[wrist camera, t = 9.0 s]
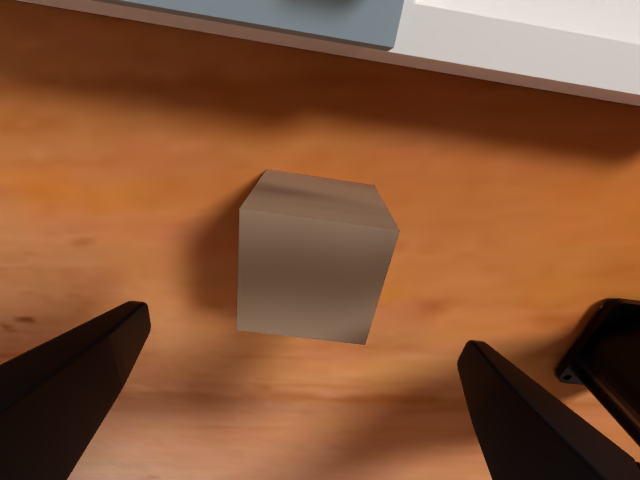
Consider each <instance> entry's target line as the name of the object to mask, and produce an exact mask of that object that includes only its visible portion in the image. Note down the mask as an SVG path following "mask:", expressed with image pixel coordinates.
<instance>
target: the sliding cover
mask: <svg viewBox="0 0 640 480" xmlns="http://www.w3.org/2000/svg"><path fill="white" fill-rule="evenodd" d="M93 1H99V2H104V3H110V4H116V5H122V6H128V7H134V8H139V9H145V10H151V11H157V12H163V13H168V14H174V15H180V16H186V17H192V18H197V19H203V20H209V21H215V22H221V23H226V24H232V25H238V26H244V27H250V28H256V29H261V30H267V31H273V32H279V33H285V34H290V35H296V36H302V37H308V38H314V39H319V40H325V41H331V42H337V43H343V44H348V45H354V46H360V47H366V48H372V49H378V50H383V51H389V50H391V49H393V48H394V45H395V40H396V36H397V31H398V27H399V22H400V18H401V13H402V8H403V4H404V0H93Z"/></svg>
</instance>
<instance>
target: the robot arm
mask: <svg viewBox="0 0 640 480" xmlns="http://www.w3.org/2000/svg"><path fill="white" fill-rule="evenodd" d="M150 329H151V323H150V317H149V310H148V305H147V304H146V303H144V302H138V301H128V302H126V303H124V304H122V305H120V306H118V307H116V308H114V309H112V310H110V311H108V312H106V313H104V314H102V315H100V316H98V317H96V318H94V319H92V320H90V321H88V322H86V323H84V324H82V325H79V326H77V327H75V328H73V329H71V330H69V331H67V332H65V333H63V334H61V335H59V336H57V337H55V338H53V339H51V340H49V341H47V342H45V343H43V344H41V345H39V346H37V347H35V348H33V349H31V350H29V351H27V352H25V353H23V354H21V355H19V356H17V357H15V358H13V359H11V360H9V361H7V362H5V363H3V364H1V365H0V480H67V478H68V477H69V475H70V474H71V472H72V470H73V469H74V467H75V465H76V464H77V462H78V461H79V459H80V457H81V456H82V454H83V452H84V451H85V449H86V448H87V446H88V444H89V443H90V441H91V439H92V438H93V436H94V434H95V433H96V431H97V430H98V428H99V426H100V425H101V423H102V421H103V420H104V418H105V417H106V415H107V413H108V412H109V410H110V408H111V407H112V405H113V403H114V402H115V400H116V399H117V397H118V395H119V393H120V392H121V390H122V388H123V386H124V384H125V383H126V381H127V379H128V377H129V375H130V372H131V370H132V368H133V366H134V364H135V362H136V360H137V358H138V356H139V354H140V352H141V350H142V348H143V346H144V343H145V341H146V339H147V337H148V335H149V333H150ZM457 366H458V371H459V375H460V379H461V383H462V387H463V391H464V394H465V398H466V402H467V406H468V410H469V414H470V417H471V421H472V424H473V427H474V430H475V433H476V436H477V438H478V441H479V444H480V447H481V449H482V452H483V455H484V458H485V461H486V463H487V466H488V469H489V472H490V474H491V477H492V480H640V463H639V462H635V460H634V458H633V457H631V456H630V455H629V454H627V453H626V452H625V451H624V450H622V449H621V448H620V447H618V446H617V445H616V444H615V443H613V442H612V441H611V440H609V439H608V438H607V437H606V436H604V435H603V434H602V433H600V432H599V431H598V430H597V429H595V428H594V427H593V426H592V425H590V424H589V423H588V422H586V421H585V420H584V419H583V418H581V417H580V416H579V415H577V414H576V413H575V412H574V411H572V410H571V409H570V408H568V407H567V406H566V405H565V404H563V403H562V402H561V401H560V400H558V399H557V398H556V397H554V396H553V395H552V394H551V393H549V392H548V391H547V390H545V389H544V388H543V387H542V386H540V385H539V384H538V383H536V382H535V381H534V380H533V379H531V378H530V377H529V376H527V375H526V374H525V373H524V372H522V371H521V370H520V369H519V368H517V367H516V366H515V365H513V364H512V363H511V362H510V361H508V360H507V359H506V358H504V357H503V356H502V355H501V354H499V353H498V352H497V351H495V350H494V349H493V348H492V347H490V346H489V345H488V344H486V343H485V342H482V341H475V340H469V341H468V342H467V343H466V345H465V347H464V349H463V351H462V353H461V355H460V357H459V359H458V363H457ZM555 376H556V377H557V378H558V380H559V381H560V382H563V383H572V384H581V385H585V386H586V387H587V389H588V390H589V391H590V392H591V393H592V394H593V395H594V396H595V398H596V399H597V400H598V401H599V402H600V403H601V404H602V405H603V407H604V408H605V409H606V410H607V411H608V412H609V413H610V414H611V416H612V417H613V418H614V419H615V420H616V421H617V422H618V423H619V424H620V426H621V427H622V428H623V429H624V430H625V431H626V432H627V433H628V435H629V436H630V437H631V438H632V439H633V440H634V441H635V442H636V444H637V445H638V446H639V447H640V301H636V300H628V299H620V298H617V299H612V300H610V301H609V302H607V303H606V304H605V306H604V307H603V308H602V310H601V311H600V312H599V314H598V315H597V316H596V318H595V319H594V320H593V322H592V323H591V324H590V326H589V327H588V328H587V330H586V331H585V332H584V334H583V335H582V336H581V338H580V339H579V340H578V342H577V343H576V344H575V346H574V347H573V348H572V350H571V351H570V352H569V354H568V355H567V356H566V358H565V359H564V360H563V362H562V363H561V364H560V366H559V367H558V368H557V370H556V371H555Z"/></svg>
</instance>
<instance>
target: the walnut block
mask: <svg viewBox="0 0 640 480" xmlns="http://www.w3.org/2000/svg"><path fill="white" fill-rule="evenodd" d="M399 231H400V230H399V229H398V227H397V225H396V223H395V221H394V220H393V218H392V216H391V214H390V212H389V211H388V209H387V207H386V205H385V203H384V202H383V200H382V198H381V196H380V194H379V193H378V191H377V189H376V187H375V185H369V184H362V183H355V182H349V181H342V180H335V179H329V178H322V177H315V176H309V175H302V174H295V173H288V172H282V171H275V170H268V169H267V170H266V171H265V172H264V174H263V175H262V177H261V178H260V180H259V181H258V182H257V184H256V185H255V187H254V188H253V190H252V191H251V193H250V194H249V195H248V197H247V198H246V200H245V201H244V203H243V204H242V205H241V207H240V209H239V249H238V289H237V329H236V330H239V331H248V332H257V333H265V334H274V335H283V336H292V337H301V338H309V339H318V340H327V341H336V342H344V343H353V344H362V345H365V343H366V340H367V337H368V333H369V330H370V327H371V323H372V320H373V317H374V314H375V310H376V307H377V304H378V300H379V297H380V294H381V291H382V287H383V284H384V281H385V277H386V274H387V271H388V267H389V264H390V261H391V258H392V254H393V251H394V248H395V244H396V241H397V238H398V235H399Z"/></svg>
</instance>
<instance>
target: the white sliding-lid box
mask: <svg viewBox="0 0 640 480" xmlns="http://www.w3.org/2000/svg"><path fill="white" fill-rule="evenodd" d="M17 1H22V2H28V3H34V4H40V5H46V6H52V7H58V8H64V9H70V10H76V11H81V12H87V13H93V14H99V15H105V16H111V17H117V18H123V19H129V20H134V21H140V22H146V23H152V24H158V25H164V26H170V27H176V28H182V29H188V30H193V31H199V32H205V33H211V34H217V35H223V36H229V37H235V38H241V39H247V40H252V41H258V42H264V43H270V44H276V45H282V46H288V47H294V48H300V49H305V50H311V51H317V52H323V53H329V54H335V55H341V56H347V57H353V58H359V59H364V60H370V61H376V62H382V63H388V64H394V65H400V66H406V67H412V68H417V69H423V70H429V71H435V72H441V73H447V74H453V75H459V76H465V77H471V78H476V79H482V80H488V81H494V82H500V83H506V84H512V85H518V86H524V87H530V88H535V89H541V90H547V91H553V92H559V93H565V94H571V95H577V96H583V97H588V98H594V99H600V100H606V101H612V102H618V103H624V104H630V105H636V106H640V0H404V4H403V8H402V13H401V18H400V22H399V27H398V31H397V36H396V40H395V45H394V48H393V49H391V50H389V51H383V50H378V49H372V48H366V47H360V46H354V45H348V44H343V43H337V42H331V41H325V40H319V39H314V38H308V37H302V36H296V35H290V34H285V33H279V32H273V31H267V30H261V29H256V28H250V27H244V26H238V25H232V24H226V23H221V22H215V21H209V20H203V19H197V18H192V17H186V16H180V15H174V14H168V13H163V12H157V11H151V10H145V9H139V8H134V7H128V6H122V5H116V4H110V3H104V2H99V1H93V0H17Z"/></svg>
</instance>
